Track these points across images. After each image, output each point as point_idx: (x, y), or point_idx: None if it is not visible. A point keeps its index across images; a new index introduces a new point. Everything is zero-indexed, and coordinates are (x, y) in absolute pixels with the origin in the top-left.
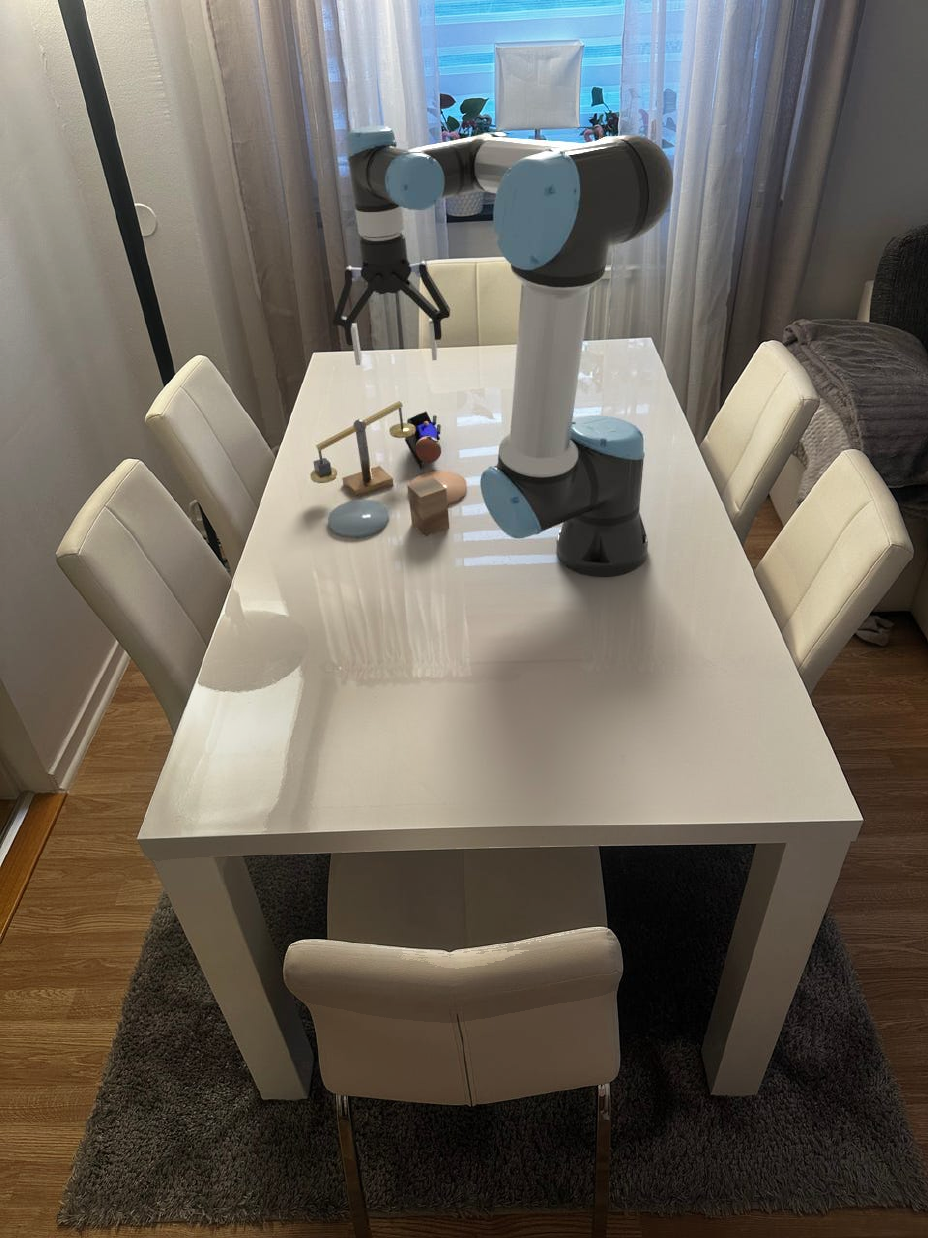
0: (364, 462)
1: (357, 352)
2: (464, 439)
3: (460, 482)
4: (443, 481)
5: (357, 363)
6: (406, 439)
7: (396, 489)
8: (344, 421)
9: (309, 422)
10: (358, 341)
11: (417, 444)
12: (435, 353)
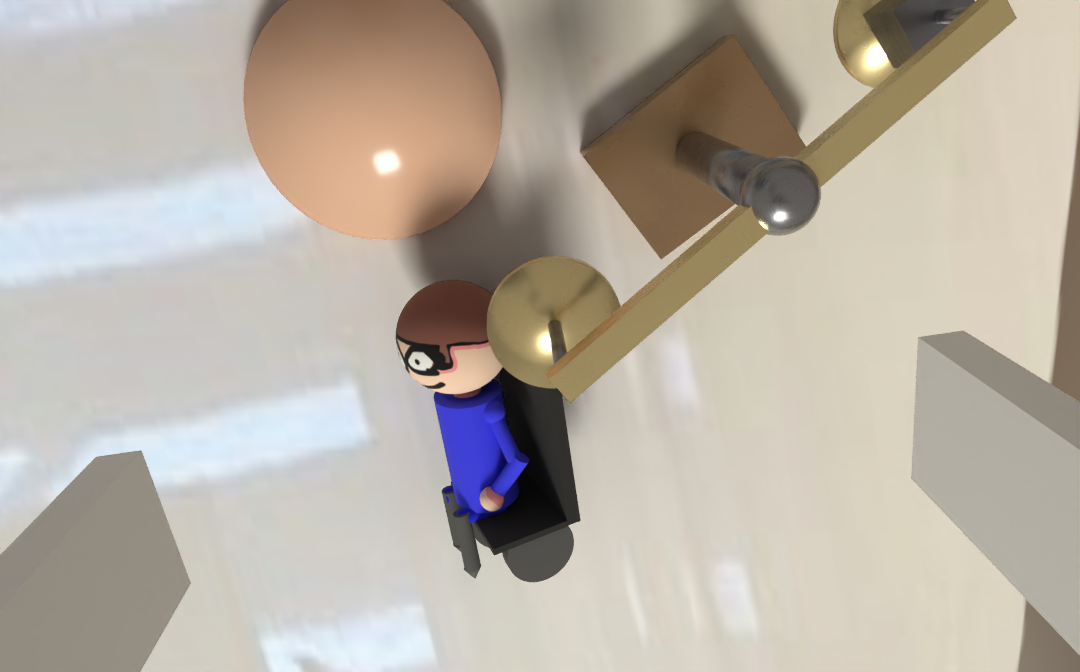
0: (716, 141)
1: (1015, 395)
2: (370, 515)
3: (277, 142)
4: (355, 147)
5: (955, 338)
6: None
7: (560, 116)
8: (855, 616)
9: (986, 603)
10: (1053, 564)
11: None
12: (62, 495)
